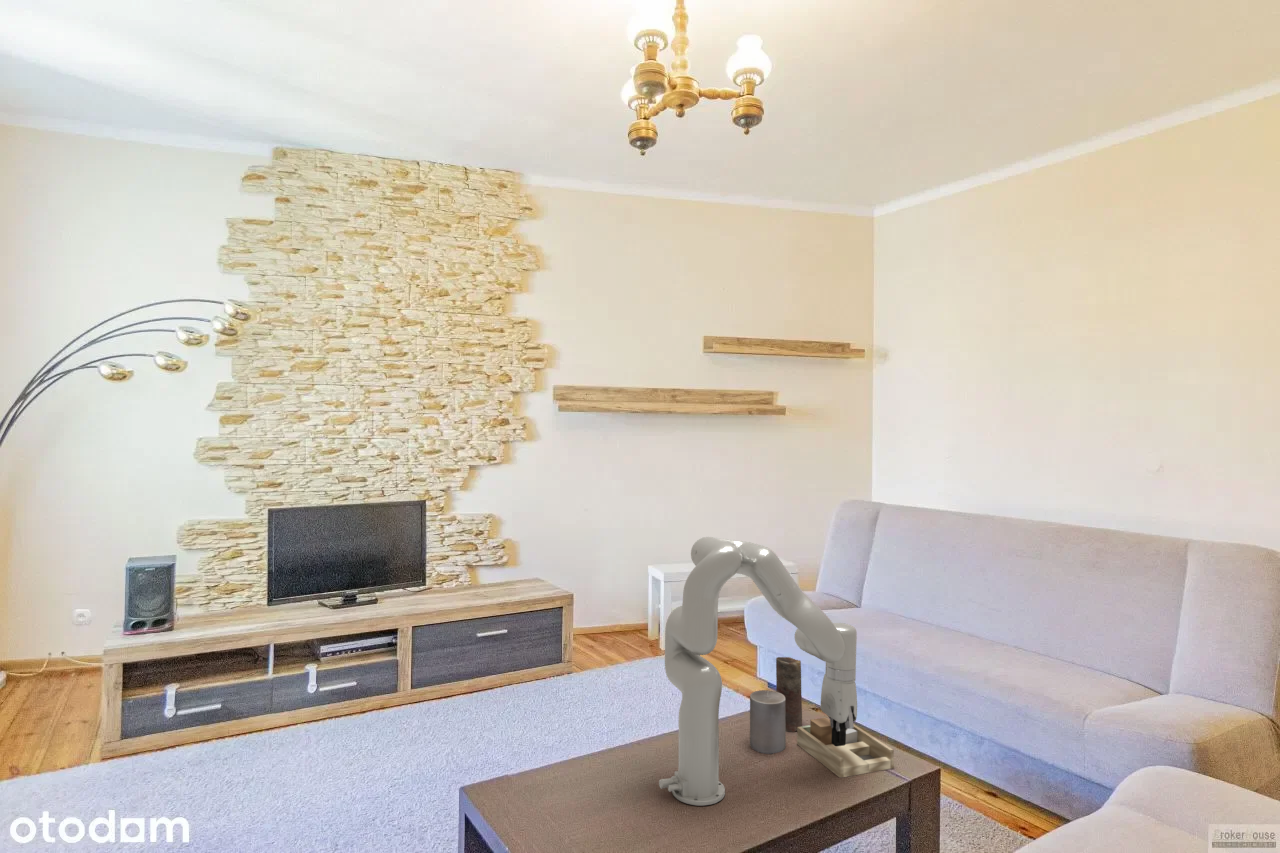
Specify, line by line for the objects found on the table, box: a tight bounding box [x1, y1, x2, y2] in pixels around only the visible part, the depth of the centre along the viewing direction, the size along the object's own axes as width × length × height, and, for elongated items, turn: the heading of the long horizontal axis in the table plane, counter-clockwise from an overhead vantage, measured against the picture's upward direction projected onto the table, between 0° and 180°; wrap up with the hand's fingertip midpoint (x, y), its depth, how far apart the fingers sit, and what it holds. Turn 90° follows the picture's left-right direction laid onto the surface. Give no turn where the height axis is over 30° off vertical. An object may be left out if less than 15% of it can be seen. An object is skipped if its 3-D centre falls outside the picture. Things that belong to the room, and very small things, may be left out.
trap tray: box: [796, 722, 895, 779], centre depth 188 cm, size 16×20×5 cm
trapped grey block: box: [846, 729, 857, 744], centre depth 194 cm, size 4×4×4 cm
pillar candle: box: [749, 689, 787, 755], centre depth 194 cm, size 10×10×15 cm
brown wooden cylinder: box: [775, 656, 803, 733], centre depth 207 cm, size 8×7×20 cm
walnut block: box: [809, 717, 832, 745], centre depth 192 cm, size 5×5×5 cm
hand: (838, 744), depth 183 cm, fingers closed
